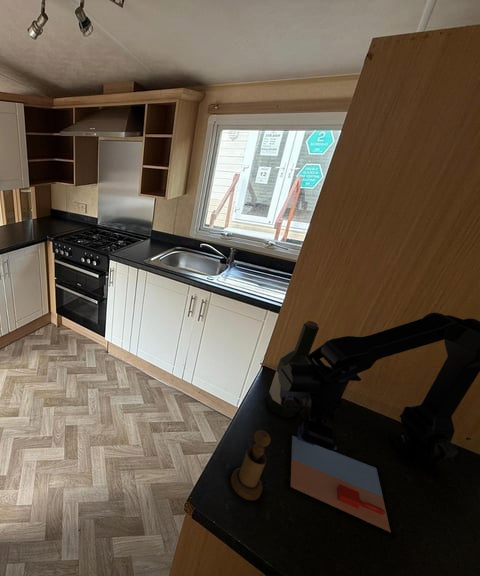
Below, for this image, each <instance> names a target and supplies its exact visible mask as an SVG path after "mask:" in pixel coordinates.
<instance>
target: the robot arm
mask: <svg viewBox="0 0 480 576" xmlns="http://www.w3.org/2000/svg"><path fill="white" fill-rule="evenodd" d="M442 341H443V343H444V348H445V351H446V355H447V356H446V358H445V360H444V362H443V363H442V366H441V368H440V369H439V371H438V373H437V375H436V377H435V378H434V380H433V382H432V383H431V385H430V387H429V389H428V391H427V393H426V395H425V396H424V398H423V400H422V402H421V403H420V404H416V405H413V406H405V407H404V409H403V412H402V413H401V414H400V415H399V416H398V417H399V418H400V422H401V427H402V428H403V429H404V430H406V433H405V434H404V435H403V434H402V435H401V436H400V437H399V439H398V440H397V441H395V445H394V446H395V450H396V453H397V455H399V458H400V460H401V461H402V462H404V463H406V464H410V465H412V466H414V467H418V468H420V469H423V470H426V471H429V472H431V473H434V474H436V473H437V470H436V468H435V467H436V464H437V463H438V462H439V461H440V460H442V461H445V460H446V459H448V458H453V457H454V456H456V455H457V454H459V451H458V449H457V448H456V447H455V446H454V444H453V443H452V439H453V437H454V435H455V431H456V430H455V425H454V422H453V418H452V417H453V415H454V413H455V412H456V410H457V409H458V407H459V406H460V404H461V402H462V401H463V399H464V398H465V396H466V394H467V393H468V391H469V390H470V388H471V386H472V385H473V383H474V382H475V380H476V378H477V377H478V375H479V374H480V320H478V319H476V318H464V319H463V318H460V317H457V316H453V315H450V314H443V313H442V312H441V313H440V312H429V313H428V314H426V315H424V316H423V317H422V318H419V319H416V320H413V321H410V322H407V323H404V324H401V325H397V326H394V327H391V328H387V329H384V330H382V331H378V332H376V333H371V334H369V335H365V336H355V335H346V336H341V337H335V338H331V339H329V340H327V341H325V342H323V344H321V345H320V346H319V347H317V348H316V349H314V350H313V351H311V352H310V353H309V355H308V356H306V357H305V358H306V359H307V360H308V362H309V363H308V364H298V363H290V362H289V363H288V365H287V366H282V367H281V368H280V369H279V373H278V379H279V383H280V386H281V387H280V399H281V405H282V406H283V407H285V409H287V410H293V411H298V412H299V410H300V409H302V413H304V418H302V417H301V418H300V426H301V438H302V439H303V440H304V441H305V442H308V443H312V444H315V445H317V446H320V447H323V448H325V449H328V450H330V451H335V450H334V449H335V447H336V446H338V445H337V443H338V442H337V434H336V431H335V430H334V429H333V428H332V426H331V423H329V422H328V421H331V422H335V420H336V415H335V412H336V410H337V409H339V410H340V409H341V407H342V401H341V400H342V398H343V395H344V393H345V391H346V389H347V388H348V385H349V383H350V382H361V381H362V378H361V376H360V375H358V374H360V373H363V372H366V371H367V370H369V369H370V370H371V368H372V367H373V366H374V364H375V363H376V362H377V361H379V360H382V359H383V358H387V357H391V356H394V355H398V354H400V353H404V352H407V351H410V350H414V349H417V348H421V347H425V346H427V345H431V344H435V343H438V342H442ZM322 359H324V360H325V362H327V363H328V365H326V364H325V363H324V362H323V360H322Z"/></svg>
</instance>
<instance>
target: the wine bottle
mask: <svg viewBox="0 0 480 576" xmlns="http://www.w3.org/2000/svg"><path fill="white" fill-rule="evenodd" d="M319 329H320V327H319V324H318V323H317V322H315V321H312V320H307V321H306V322H305V323H304V324H303V325H302V328H301V331H300V333H299V336H298V339H297V341H296V343H295V344H296V345H295V347H294V349H293V350H291V351H290V352H288V353H287V354H285V355H284V356H282V357H281V358H279V362H278V364H277V367H276V371H275V373H274V376H273V379H272V382H271V385H270V388H269V392H268V395H267V397H266V400H265V403H266V404H267V406H268V409H269V410H271V411H272V412H274V413H275V414H277V415H279V416H281V417H288V418H293V417H294V416H295V415H296V414H297V413H298V412H299V410H298V411H293V410H287V409H285V407H283V406H282V405H281V399H280V387H281V386H280V383H279V379H278V373H279V369H280V368H281V367H282V366H287V365H288V363H289V362H290V363H298V364H308V363H309V362H308V360H307V359H306V358H305V357H306V356H308V355H309V354H310V353H311V350H312V348H313V345H314V343H315V341H316V340H315V339H316V337H317V335H318V333H319Z"/></svg>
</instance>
